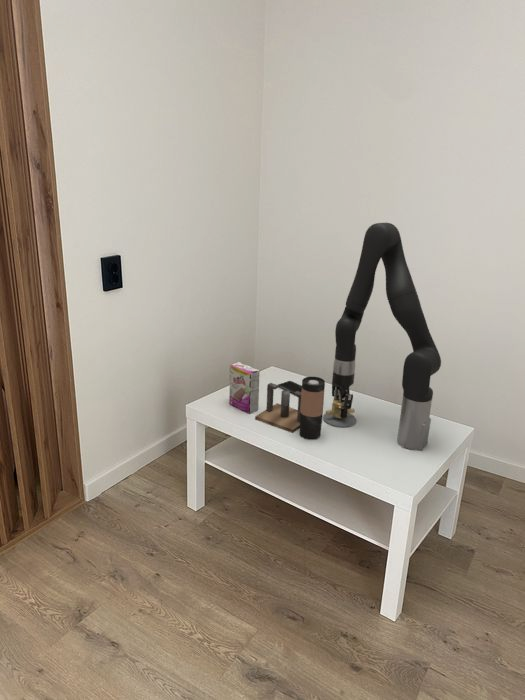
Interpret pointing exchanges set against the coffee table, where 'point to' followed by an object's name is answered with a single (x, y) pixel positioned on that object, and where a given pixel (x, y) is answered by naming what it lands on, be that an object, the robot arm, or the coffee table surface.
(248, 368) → the candy bar box
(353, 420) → the coaster
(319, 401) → the travel mug
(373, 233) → the robot arm
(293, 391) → the phone
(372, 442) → the coffee table surface
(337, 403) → the brass pipe fitting
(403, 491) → the coffee table surface
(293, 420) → the stand
